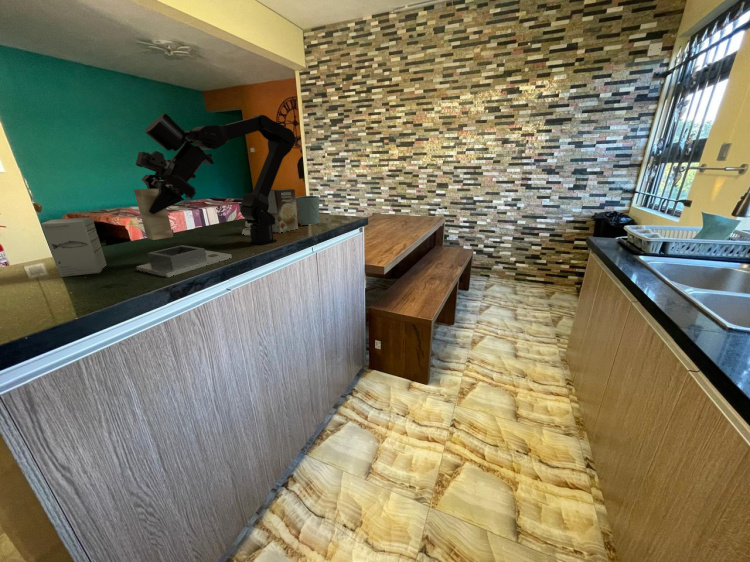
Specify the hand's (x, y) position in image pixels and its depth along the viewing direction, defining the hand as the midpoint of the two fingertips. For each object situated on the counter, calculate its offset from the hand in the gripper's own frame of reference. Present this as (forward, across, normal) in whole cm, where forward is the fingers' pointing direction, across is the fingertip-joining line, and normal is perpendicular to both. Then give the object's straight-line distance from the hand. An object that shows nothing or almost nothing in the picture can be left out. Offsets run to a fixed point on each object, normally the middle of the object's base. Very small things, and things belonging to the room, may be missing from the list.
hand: (147, 212), depth 77 cm
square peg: (+4, 0, +6) cm, 7 cm away
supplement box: (+19, -8, 0) cm, 21 cm away
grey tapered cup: (-35, -15, +55) cm, 67 cm away
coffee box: (-24, -11, +44) cm, 51 cm away
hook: (-17, -18, +36) cm, 44 cm away
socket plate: (+7, +6, +12) cm, 15 cm away
